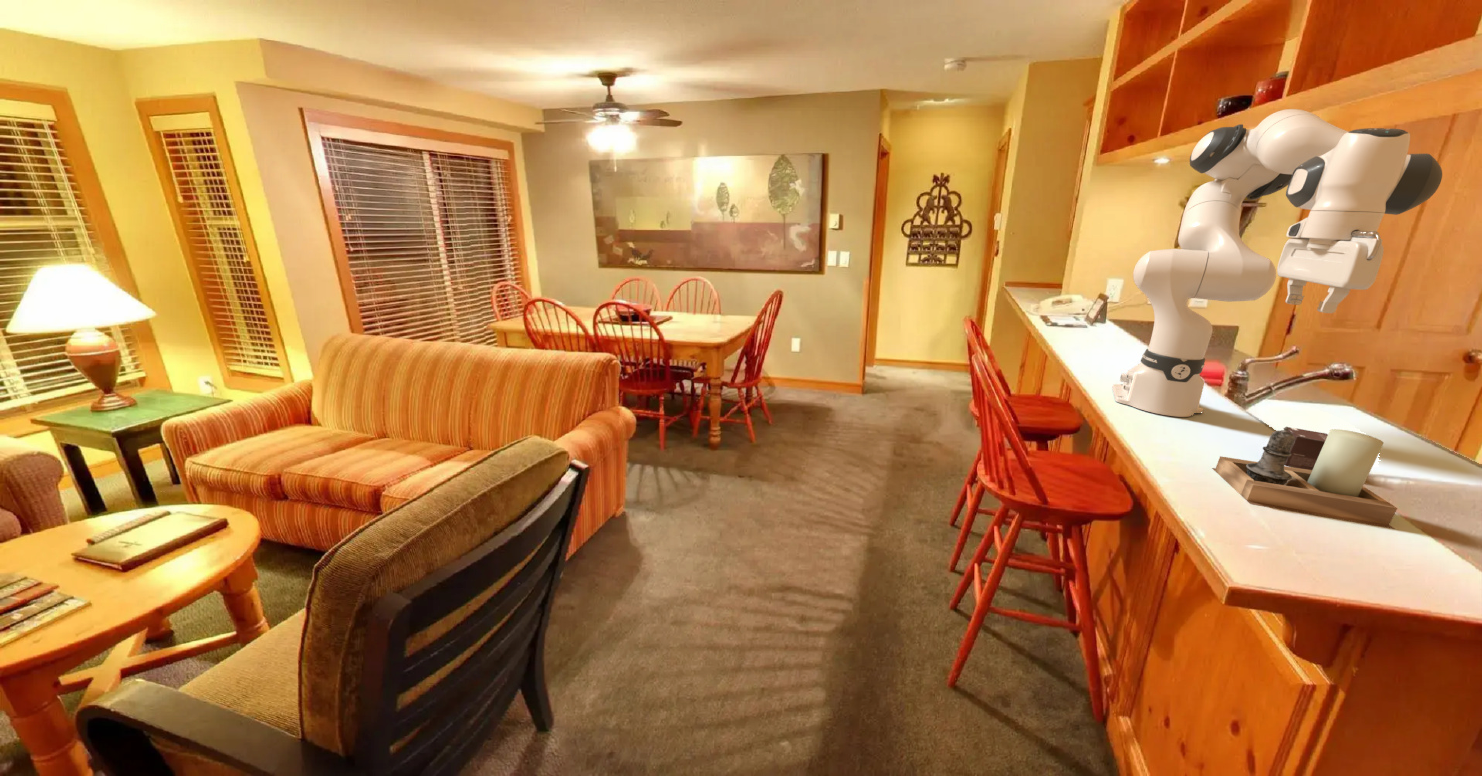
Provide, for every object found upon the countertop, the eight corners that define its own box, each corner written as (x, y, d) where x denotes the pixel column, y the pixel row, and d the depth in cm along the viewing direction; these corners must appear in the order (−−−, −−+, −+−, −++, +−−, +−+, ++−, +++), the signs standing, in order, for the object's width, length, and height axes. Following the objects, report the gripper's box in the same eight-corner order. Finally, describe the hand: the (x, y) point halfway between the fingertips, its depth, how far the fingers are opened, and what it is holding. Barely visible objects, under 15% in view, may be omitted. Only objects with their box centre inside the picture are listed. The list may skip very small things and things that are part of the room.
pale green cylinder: (1294, 488, 95) (1321, 426, 91) (1337, 495, 93) (1366, 432, 89) (1315, 505, 89) (1345, 440, 85) (1361, 513, 87) (1394, 447, 83)
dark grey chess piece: (1293, 499, 91) (1321, 435, 87) (1253, 494, 92) (1279, 431, 88) (1268, 483, 96) (1293, 422, 92) (1231, 478, 97) (1254, 418, 93)
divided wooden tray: (1210, 472, 102) (1217, 453, 100) (1332, 492, 96) (1341, 472, 95) (1248, 509, 89) (1257, 488, 88) (1392, 534, 84) (1403, 512, 82)
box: (1324, 479, 101) (1339, 444, 99) (1281, 470, 104) (1295, 435, 102) (1313, 467, 106) (1327, 433, 104) (1272, 458, 109) (1286, 425, 107)
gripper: (1410, 232, 83) (1372, 320, 87) (1324, 229, 101) (1296, 301, 105) (1358, 230, 84) (1323, 316, 89) (1282, 227, 103) (1257, 298, 107)
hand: (1308, 308), depth 97 cm, fingers open, 8 cm apart
